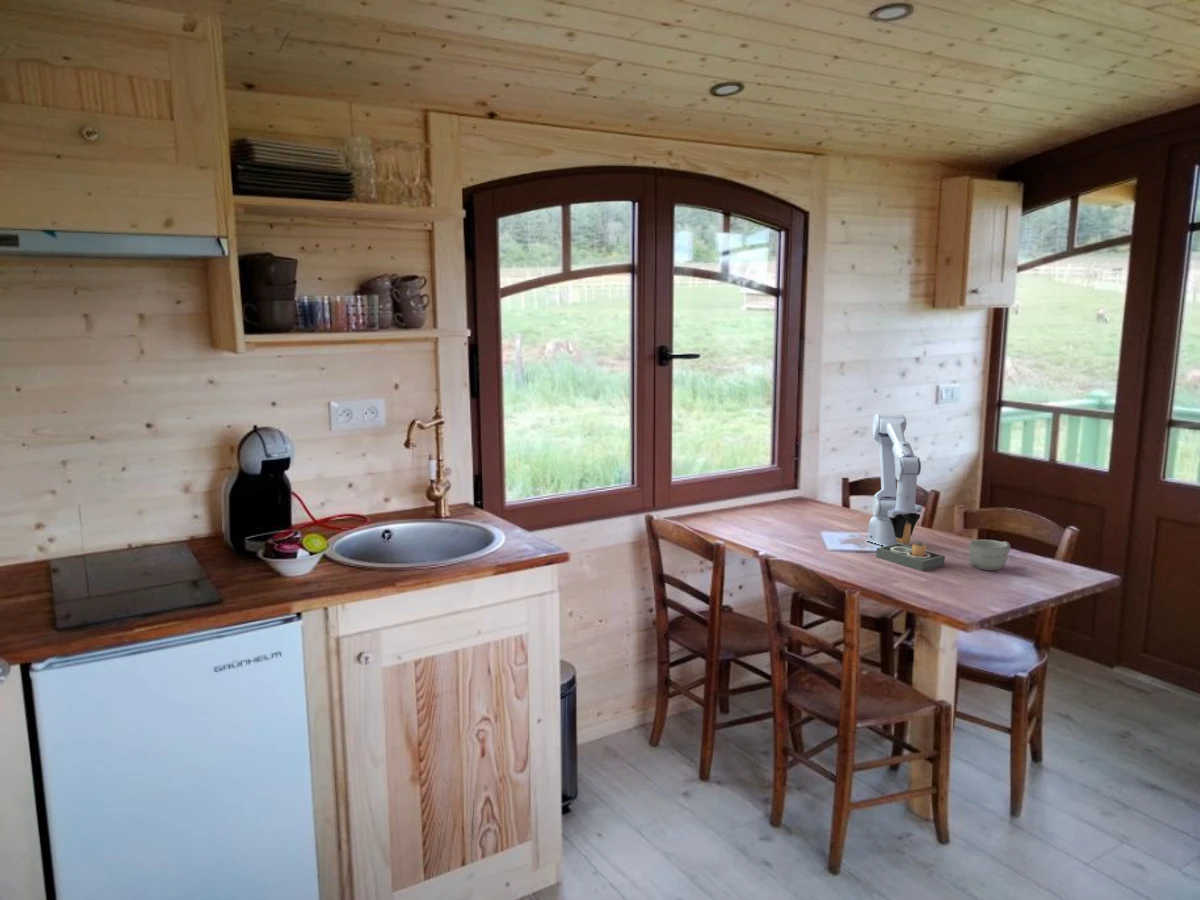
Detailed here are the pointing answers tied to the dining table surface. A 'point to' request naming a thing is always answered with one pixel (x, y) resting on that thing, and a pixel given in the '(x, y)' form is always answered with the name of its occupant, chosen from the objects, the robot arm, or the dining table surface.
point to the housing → (911, 556)
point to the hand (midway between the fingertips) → (903, 536)
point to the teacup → (988, 554)
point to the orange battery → (905, 534)
